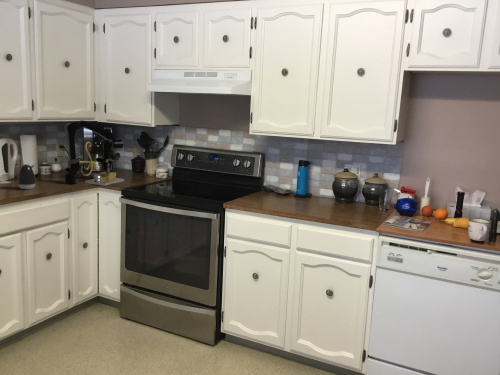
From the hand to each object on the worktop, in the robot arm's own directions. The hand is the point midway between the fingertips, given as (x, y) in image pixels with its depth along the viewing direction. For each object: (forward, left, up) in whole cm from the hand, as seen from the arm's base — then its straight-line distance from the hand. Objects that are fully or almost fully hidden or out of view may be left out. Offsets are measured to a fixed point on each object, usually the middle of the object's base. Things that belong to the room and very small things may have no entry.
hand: (107, 171), depth 320 cm
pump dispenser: (-50, +22, -7) cm, 55 cm away
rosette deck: (-3, 0, -7) cm, 8 cm away
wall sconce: (+11, +26, -7) cm, 29 cm away
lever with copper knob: (0, 0, -2) cm, 2 cm away
